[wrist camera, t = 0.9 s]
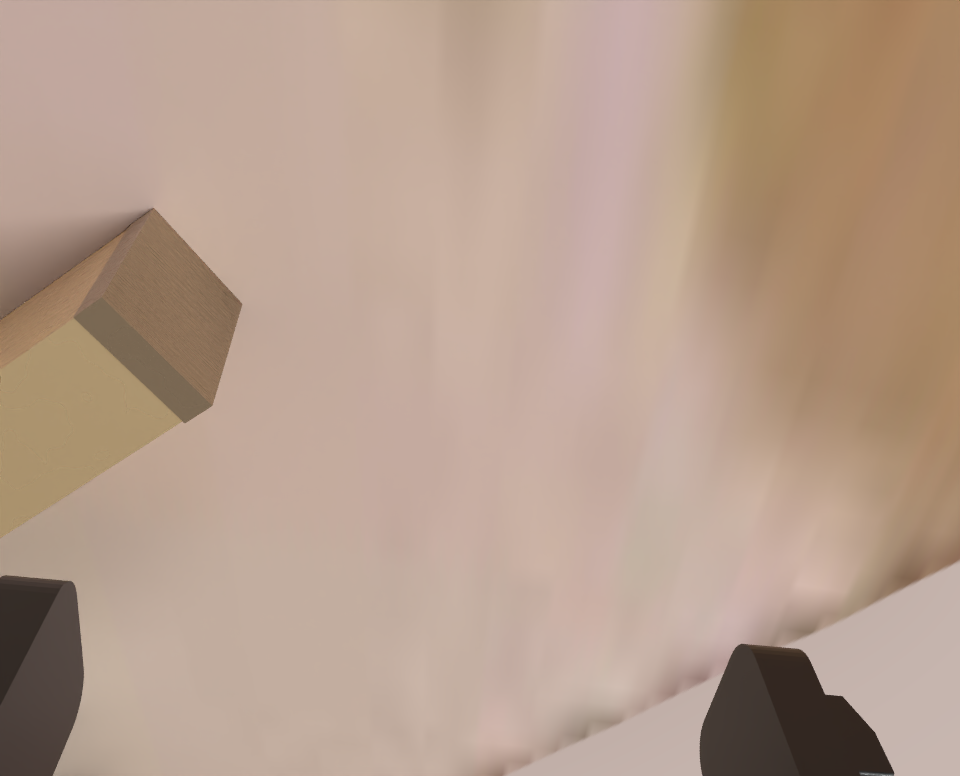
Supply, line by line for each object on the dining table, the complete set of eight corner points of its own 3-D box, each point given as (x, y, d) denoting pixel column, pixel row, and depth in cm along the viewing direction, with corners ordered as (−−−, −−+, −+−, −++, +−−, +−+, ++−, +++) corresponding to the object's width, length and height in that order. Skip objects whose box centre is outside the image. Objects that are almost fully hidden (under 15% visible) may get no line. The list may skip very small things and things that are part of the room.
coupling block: (-15, 475, 33) (-89, 597, 28) (-112, 398, 31) (-210, 515, 26) (242, 303, 30) (212, 405, 25) (153, 208, 28) (101, 297, 23)
